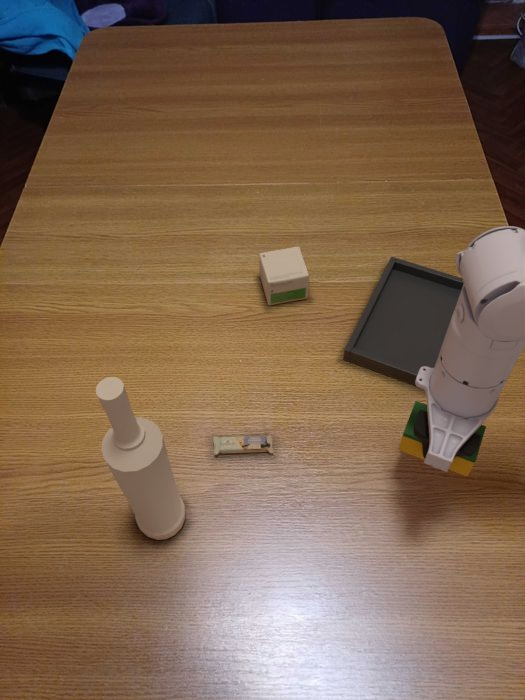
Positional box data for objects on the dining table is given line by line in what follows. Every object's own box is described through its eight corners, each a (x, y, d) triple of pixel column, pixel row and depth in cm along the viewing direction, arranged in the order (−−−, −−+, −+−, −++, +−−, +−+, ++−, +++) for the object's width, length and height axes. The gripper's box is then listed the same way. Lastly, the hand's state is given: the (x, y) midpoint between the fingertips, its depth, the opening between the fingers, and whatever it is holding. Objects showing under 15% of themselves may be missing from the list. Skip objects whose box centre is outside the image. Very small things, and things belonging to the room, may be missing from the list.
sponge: (477, 443, 62) (486, 426, 59) (467, 476, 60) (476, 460, 57) (409, 418, 64) (415, 400, 61) (397, 449, 62) (403, 432, 59)
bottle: (141, 548, 63) (77, 426, 43) (134, 501, 66) (71, 368, 46) (191, 534, 64) (150, 409, 44) (181, 489, 67) (139, 352, 47)
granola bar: (213, 457, 69) (212, 452, 68) (213, 438, 70) (213, 434, 69) (273, 455, 69) (273, 450, 68) (272, 436, 70) (272, 432, 69)
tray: (479, 295, 82) (483, 284, 81) (442, 395, 73) (445, 386, 71) (389, 266, 86) (391, 256, 84) (342, 359, 77) (344, 349, 75)
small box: (267, 307, 82) (267, 282, 78) (259, 276, 85) (257, 251, 81) (309, 300, 83) (310, 274, 79) (298, 269, 86) (299, 244, 82)
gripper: (450, 284, 55) (422, 370, 66) (400, 411, 47) (378, 485, 58) (531, 308, 53) (489, 393, 64) (493, 445, 45) (452, 516, 56)
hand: (440, 439), depth 61 cm, fingers closed on sponge, 4 cm apart
